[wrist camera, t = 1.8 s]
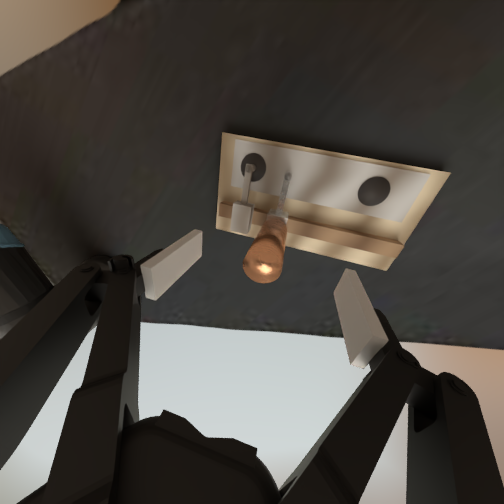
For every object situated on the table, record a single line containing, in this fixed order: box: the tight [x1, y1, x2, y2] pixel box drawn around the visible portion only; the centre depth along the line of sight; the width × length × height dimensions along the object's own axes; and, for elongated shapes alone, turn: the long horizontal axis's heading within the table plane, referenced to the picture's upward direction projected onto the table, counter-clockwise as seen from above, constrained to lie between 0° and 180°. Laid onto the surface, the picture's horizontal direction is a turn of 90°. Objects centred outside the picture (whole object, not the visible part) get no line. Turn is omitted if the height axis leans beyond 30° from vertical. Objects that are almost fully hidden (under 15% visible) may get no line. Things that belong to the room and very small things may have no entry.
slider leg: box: [243, 171, 292, 283], centre depth 20 cm, size 3×9×13 cm, turn 171°
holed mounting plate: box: [216, 132, 450, 271], centre depth 25 cm, size 28×14×5 cm, turn 81°
